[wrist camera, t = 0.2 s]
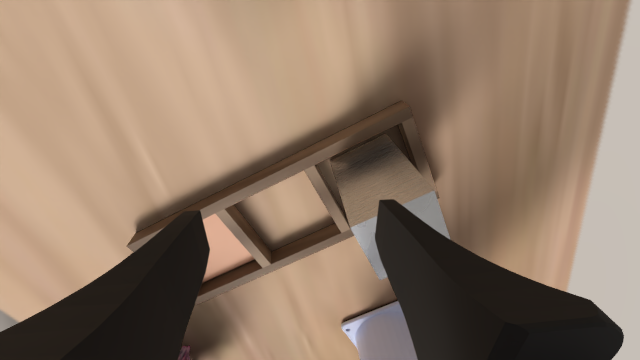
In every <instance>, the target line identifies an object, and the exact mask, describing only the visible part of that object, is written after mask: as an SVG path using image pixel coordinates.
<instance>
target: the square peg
mask: <svg viewBox="0 0 640 360" xmlns="http://www.w3.org/2000/svg"><path fill="white" fill-rule="evenodd" d="M330 163H331V166H332V169H333V173H334V176H335V179H336V183H337V186H338V189H339V192H340V196H341V199H342V202H343V206H344V209H345V212H346V216H347V219H348V222H349V225H350V228H351V230H352V232H353V234H354V235H355V237H356V239H357V241H358V242H359V244H360V246H361V248H362V249H363V251H364V253H365V255H366V256H367V258H368V260H369V262H370V263H371V265H372V267H373V269H374V271H375V272H376V274H377V276H378V278H379V279H380V280H382V279H384V278H387V277H388V276H387V274H386V271H385V269H384V267H383V264H382V262H381V259H380V256H379V253H378V249H377V245H376V242H375V231H376V223H377V214H378V206H379V200H387V199H394V200H396V201H397V202H398V203H400V204H401V205H402V206H404V207H405V208H406V209H408V210H409V211H410V212H412V213H413V214H414V215H416V216H417V217H418V218H420V219H421V220H422V221H424V222H425V223H426V224H428V225H429V226H431V227H432V228H433V229H435V230H436V231H438V232H439V233H441V234H442V235H444V236H445V237H447V238H448V239H450V236H449V233H448V230H447V227H446V224H445V221H444V218H443V215H442V212H441V209H440V206H439V203H438V200H437V197H436V194H435V191H434V189H433V188H432V187H431V186H430V185H429V183H428V182H427V181H426V180H425V179H424V178H423V176H422V175H421V174H420V173H419V172H418V170H417V169H416V168H415V167H414V166H413V165H412V163H411V162H410V161H409V160H408V159H407V158H406V156H405V155H404V154H403V153H402V152H401V151H400V149H399V148H398V147H397V146H396V145H395V144H394V142H393V141H392V140H391V139H390V138H389V137H388V135H387V134H384V135H382V136H380V137H378V138H376V139H374V140H372V141H370V142H368V143H366V144H363V145H361V146H359V147H357V148H355V149H353V150H351V151H349V152H347V153H345V154H343V155H341V156H339V157H337V158H335V159H333V160H331V161H330ZM450 240H451V239H450Z"/></svg>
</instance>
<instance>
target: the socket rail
mask: <svg viewBox="0 0 640 360" xmlns="http://www.w3.org/2000/svg"><path fill="white" fill-rule="evenodd" d="M396 125H398V127H399V129H400V132H401V135H402V138H403V141H404V143H405V146H406V149H407V152H408V155H409V157H410V160H411V163H412V165H413V166H414V167H415V168H416V169H417V170H418V172H419V173H420V174H421V175H422V176H423V178H424V179H425V180H426V181H427V182H428V183H429V185H430V186H431V187H432V188H433V189H434V191H435V194H436V197H437V199H438V198H439V195H438V192H437V189H436V186H435V183H434V180H433V177H432V174H431V171H430V167H429V164H428V161H427V158H426V155H425V152H424V149H423V146H422V143H421V140H420V137H419V133H418V130H417V127H416V124H415V121H414V118H413V115H412V112H411V109H410V106H409V105H407V104H406V103H404V102H403V101H400V102H398V103H396V104H394V105H392V106H390V107H388V108H386V109H384V110H382V111H380V112H378V113H376V114H374V115H372V116H370V117H368V118H366V119H364V120H362V121H360V122H358V123H356V124H354V125H352V126H350V127H348V128H346V129H344V130H342V131H340V132H338V133H336V134H334V135H332V136H330V137H328V138H326V139H324V140H322V141H320V142H318V143H316V144H314V145H312V146H310V147H308V148H306V149H304V150H302V151H300V152H298V153H296V154H294V155H292V156H290V157H288V158H286V159H284V160H282V161H280V162H277V163H275V164H273V165H271V166H269V167H267V168H265V169H263V170H261V171H259V172H257V173H255V174H253V175H251V176H249V177H247V178H245V179H243V180H241V181H239V182H237V183H235V184H233V185H231V186H229V187H227V188H225V189H223V190H221V191H219V192H217V193H215V194H213V195H211V196H209V197H207V198H205V199H203V200H201V201H199V202H197V203H195V204H193V205H191V206H189V207H187V208H185V209H183V210H181V211H179V212H177V213H175V214H173V215H171V216H169V217H167V218H165V219H163V220H161V221H159V222H157V223H155V224H153V225H151V226H149V227H147V228H145V229H143V230H141V231H139V232H137V233H135V235H134V236H133V238H132V239H131V241H130V242H129V243H128V245H127V247H128V248H129V249H131V250H132V251H133V252H135V251H136V250H138V249H139V248H140V247H141V246H143V245H144V244H145V243H147V242H148V241H149V240H150V239H151V238H153V237H154V236H155V235H156V234H157V233H159V232H160V231H161V230H162V229H163V228H164V227H166V226H167V225H168V224H169V223H170V222H171V221H173V220H174V219H175V218H176V217H177V216H179V215H180V214H181V213H183V212H184V211H196V210H200V211H201V215H202V219H203V223H204V227H205V231H206V235H207V239H208V243H209V247H210V253H209V258H208V263H207V268H206V273H205V276H204V279H203V282H204V283H203V282H202V285H201V287H200V290H199V293H198V296H197V299H196V302H195V305H198V304H200V303H202V302H205V301H207V300H209V299H211V298H214V297H216V296H218V295H221V294H223V293H225V292H227V291H230V290H232V289H234V288H236V287H239V286H241V285H243V284H245V283H248V282H250V281H252V280H255V279H257V278H259V277H261V276H264V275H266V274H268V273H270V272H273V271H275V270H277V269H280V268H282V267H284V266H286V265H289V264H291V263H293V262H295V261H298V260H300V259H302V258H305V257H307V256H309V255H311V254H314V253H316V252H318V251H320V250H323V249H325V248H327V247H329V246H332V245H334V244H336V243H339V242H341V241H343V240H345V239H348V238H350V237H352V236H354V234H353V232H352V230H351V228H350V225H349V222H348V219H347V217H346V215H345V214H344V212H343V210H342V208H341V206H340V205H339V203H338V201H337V199H336V198H335V196H334V194H333V192H332V190H331V189H330V187H329V185H328V183H327V182H326V180H325V178H324V176H323V174H322V173H321V171H320V169H319V167H318V166H317V164H318V163H320V162H322V161H324V160H326V159H328V158H330V157H332V156H334V155H336V154H338V153H340V152H342V151H344V150H346V149H349V148H351V147H353V146H355V145H357V144H359V143H361V142H363V141H365V140H367V139H369V138H371V137H373V136H375V135H377V134H379V133H381V132H383V131H385V130H388V129H390V128H392V127H394V126H396ZM303 170H304V171H305V173H306V175H307V176H308V178H309V180H310V181H311V183H312V185H313V186H314V188H315V190H316V191H317V193H318V195H319V196H320V198H321V200H322V201H323V203H324V205H325V206H326V208H327V210H328V211H329V213H330V215H331V216H332V218H333V220H334V221H335V224H332V225H330V226H328V227H326V228H323V229H321V230H319V231H317V232H315V233H312V234H310V235H308V236H306V237H304V238H301V239H299V240H297V241H295V242H292V243H290V244H288V245H286V246H284V247H281V248H279V249H277V250H275V251H273V252H271V250H270V249H269V248H268V247H267V245H266V244H265V243H264V242H263V241H262V239H261V238H260V237H259V236H258V234H257V233H256V232H255V231H254V229H253V228H252V227H251V226H250V225H249V223H248V222H247V221H246V220H245V218H244V217H243V216H242V215H241V213H240V212H239V211H238V210H237V209H236V207H235V206H234V204H236V203H238V202H240V201H242V200H244V199H246V198H248V197H250V196H252V195H254V194H256V193H258V192H260V191H262V190H264V189H266V188H269V187H271V186H273V185H275V184H277V183H279V182H281V181H283V180H285V179H287V178H289V177H291V176H293V175H295V174H297V173H299V172H301V171H303ZM253 259H255V260H253ZM251 260H253V261H251ZM249 261H250V262H249ZM247 262H248V263H247ZM245 263H246V264H245ZM242 264H244V265H242ZM240 265H242V266H240ZM238 266H239V267H238ZM236 267H237V268H236ZM234 268H235V269H234ZM231 269H233V270H231ZM229 270H230V271H229ZM227 271H228V272H227ZM225 272H226V273H225ZM222 273H224V274H222ZM220 274H222V275H220ZM218 275H219V276H218ZM216 276H217V277H216ZM214 277H215V278H214ZM211 278H213V279H211ZM209 279H211V280H209ZM207 280H208V281H207ZM205 281H206V282H205Z"/></svg>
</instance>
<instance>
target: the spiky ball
mask: <svg viewBox="0 0 640 360" xmlns="http://www.w3.org/2000/svg"><path fill="white" fill-rule="evenodd" d="M189 352H190V345H189V346H187V347H186V346H182V349H181V351H180V353H179V357H178V360H190V357H189Z"/></svg>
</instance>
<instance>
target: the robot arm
mask: <svg viewBox="0 0 640 360" xmlns="http://www.w3.org/2000/svg"><path fill="white" fill-rule="evenodd" d="M375 242H376V245H377V249H378V253H379V256H380V259H381V262H382V264H383V267H384V269H385V271H386V274H387V276H388V279H389V281H390V283H391V286H392V288H393V290H394V292H395V295H396V297H397V299H398V301H396V302H394V303H391V304H389V305H386V306H384V307H381V308H378V309H376V310H373V311H371V312H368V313H366V314H363V315H361V316H358V317H356V318H353V319H351V320H348V321H346V322H343V323H342V324H341V327H342V330H343V331H344V332H345V333H346V335H347V336H348V337H349V338H350V340H351V341H352V342H353V344H354V345H355V346H356V347H357V349H358V354H359V358H360V360H611V359H612V358H613V357H614V356H615V355H616V353H617V352H618V351H619V349H620V348H621V346H622V343H623V338H624V335H623V332H622V329H621V328H620V327H619V326H618V325H617V324H615V322H613V321H612V320H611V319H610V318H609V317H608V316H607V315H606V314H605V313H604V312H603V311H601V309H599V308H598V307H597V306H596V305H595V304H594V303H593V302H592V301H591V300H588V299H585V298H582V297H579V296H576V295H573V294H570V293H567V292H564V291H561V290H558V289H555V288H552V287H549V286H546V285H544V284H541V283H539V282H536V281H533V280H531V279H528V278H526V277H523V276H521V275H518V274H516V273H514V272H511V271H509V270H507V269H505V268H502V267H500V266H498V265H496V264H494V263H492V262H490V261H488V260H486V259H484V258H482V257H480V256H478V255H476V254H474V253H472V252H470V251H469V250H467V249H465V248H463V247H461V246H460V245H458V244H456V243H455V242H453V241H452V240H450V239H448V238H447V237H445V236H444V235H442V234H441V233H439V232H438V231H436V230H435V229H433V228H432V227H431V226H429V225H428V224H426V223H425V222H424V221H422V220H421V219H420V218H418V217H417V216H416V215H414V214H413V213H412V212H410V211H409V210H408V209H406V208H405V207H404V206H402V205H401V204H400V203H398V202H397V201H396V200H394V199H387V200H379V206H378V214H377V223H376V231H375ZM209 253H210V247H209V243H208V239H207V235H206V231H205V227H204V223H203V219H202V215H201V211H200V210H196V211H184V212H183V213H181V214H180V215H179V216H177V217H176V218H175V219H174V220H173V221H171V222H170V223H169V224H168V225H167V226H166V227H164V228H163V229H162V230H161V231H160V232H159V233H157V234H156V235H155V236H154V237H153V238H151V239H150V240H149V241H148V242H147V243H145V244H144V245H143V246H141V247H140V248H139V249H138V250H136V251H135V252H134V253H132V254H131V255H130V256H128V257H127V258H126V259H125V260H123V261H122V262H121V263H119V264H118V265H116V266H115V267H114V268H112V269H111V270H109V271H108V272H106V273H105V274H103V275H102V276H100V277H99V278H97V279H96V280H94V281H93V282H91V283H90V284H88V285H86V286H85V287H83V288H81V289H80V290H78V291H76V292H75V293H73V294H71V295H69V296H68V297H66V298H64V299H62V300H61V301H59V302H57V303H56V304H54V305H52V306H50V307H49V308H47V309H45V310H43V311H41V312H39V313H37V314H35V315H33V316H32V317H30V318H28V319H26V320H24V321H22V322H20V323H18V324H16V325H14V326H12V327H10V328H8V329H6V330H4V331H2V332H0V360H178V357H179V353H180V349H181V345H182V341H183V337H184V334H185V331H186V327H187V324H188V322H189V319H190V316H191V313H192V310H193V307H194V305H195V302H196V299H197V296H198V293H199V290H200V287H201V285H202V282H203V279H204V276H205V273H206V268H207V263H208V258H209Z"/></svg>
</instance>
